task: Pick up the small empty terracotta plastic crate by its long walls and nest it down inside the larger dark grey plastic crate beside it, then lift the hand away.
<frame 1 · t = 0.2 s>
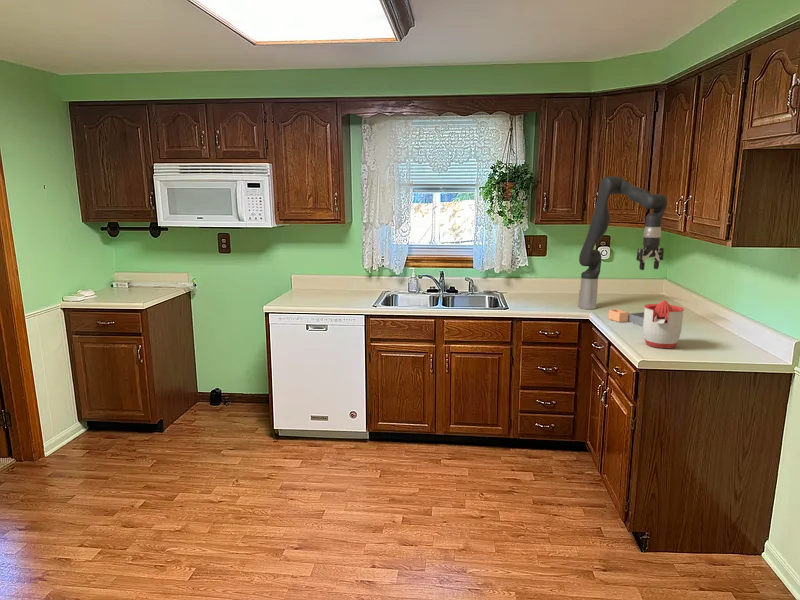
hand: (648, 269, 274), 28 cm above the worktop, tool pointing down, fingers open, 8 cm apart
citrus juicer: (659, 346, 243), on the worktop
small crate: (617, 320, 289), on the worktop
large crate: (646, 322, 284), on the worktop
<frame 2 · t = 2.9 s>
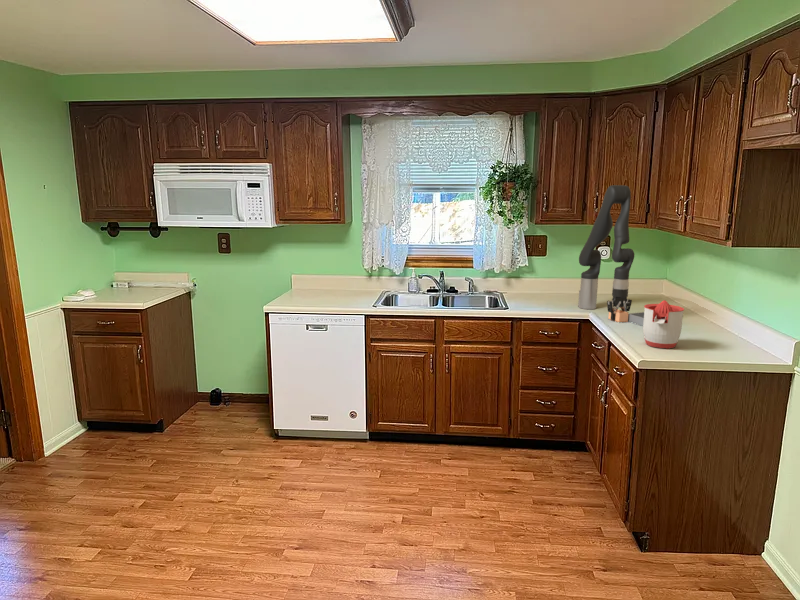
hand: (618, 319, 289), 1 cm above the worktop, tool pointing down, fingers closed on small crate, 5 cm apart
small crate: (617, 320, 289), on the worktop, touching gripper
everything else where it was.
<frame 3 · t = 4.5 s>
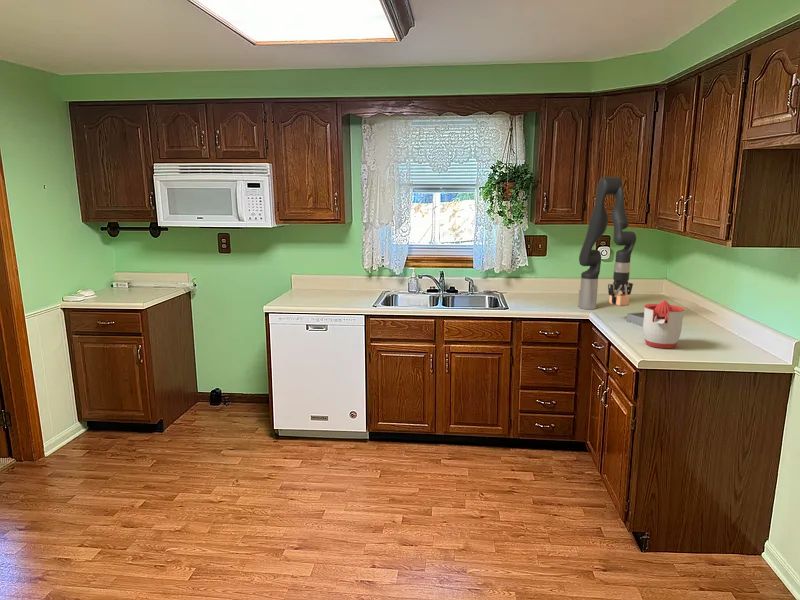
hand: (618, 303, 287), 9 cm above the worktop, tool pointing down, fingers closed on small crate, 5 cm apart
small crate: (618, 304, 287), point 9 cm above the worktop, touching gripper
everything else where it was.
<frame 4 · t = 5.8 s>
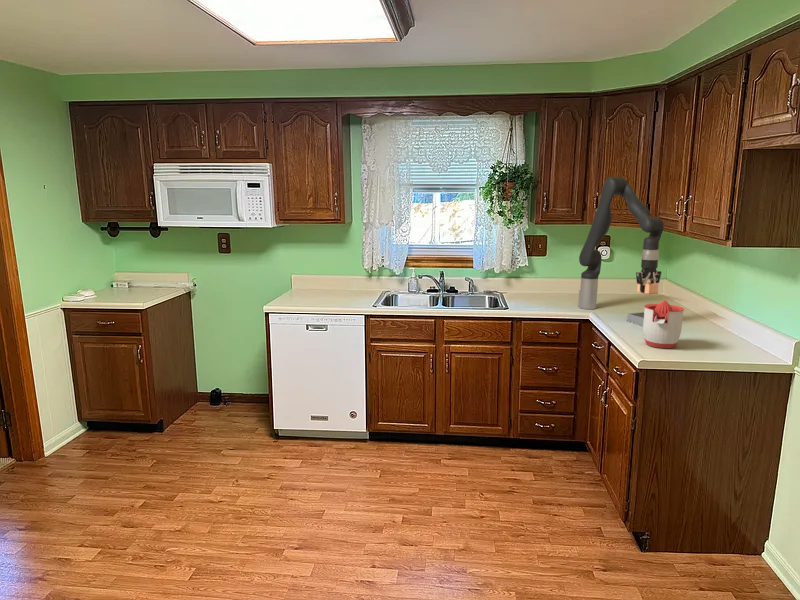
hand: (647, 291, 281), 16 cm above the worktop, tool pointing down, fingers closed on small crate, 5 cm apart
small crate: (647, 293, 281), point 15 cm above the worktop, touching gripper
everything else where it was.
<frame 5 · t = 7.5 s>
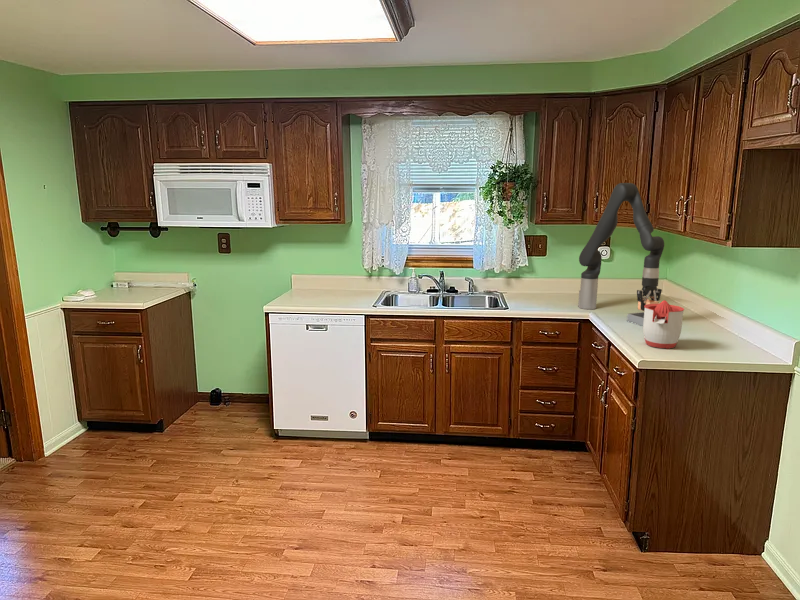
hand: (647, 309, 283), 7 cm above the worktop, tool pointing down, fingers closed on small crate, 5 cm apart
small crate: (647, 310, 283), point 6 cm above the worktop, touching gripper
everything else where it was.
when the fingers open (4 cm above the worktop, at t = 8.7 s): small crate drops 3 cm, resting on large crate.
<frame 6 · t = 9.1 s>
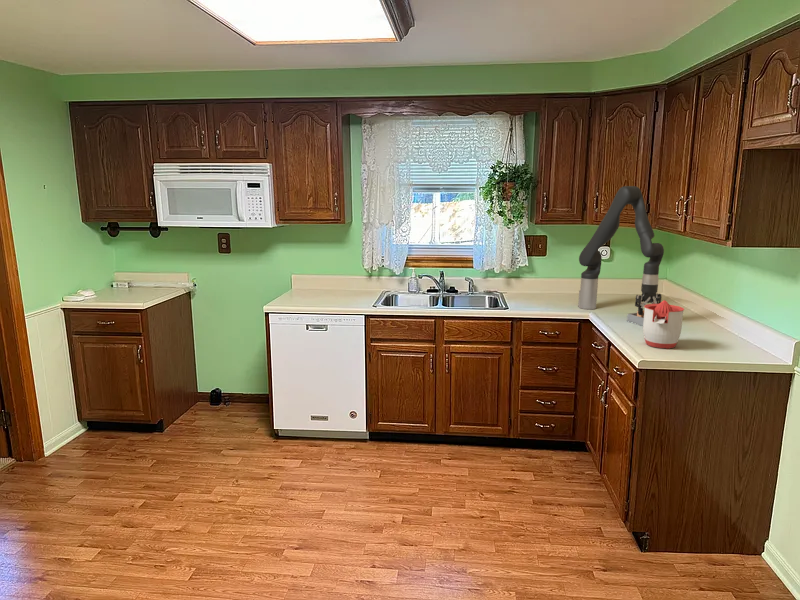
hand: (647, 314, 283), 4 cm above the worktop, tool pointing down, fingers open, 8 cm apart
small crate: (646, 321, 284), point 1 cm above the worktop, touching large crate
everything else where it was.
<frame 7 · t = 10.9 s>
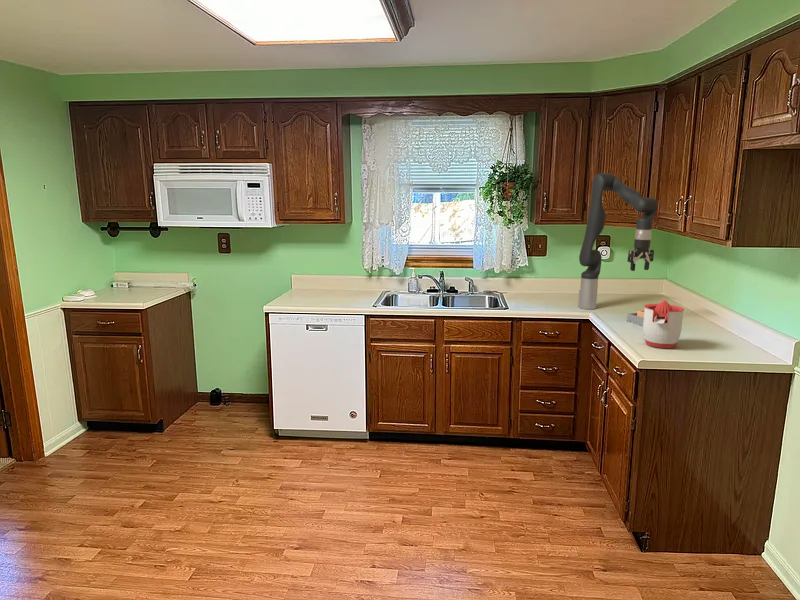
hand: (639, 270, 283), 26 cm above the worktop, tool pointing down, fingers open, 8 cm apart
nothing on the worktop moved.
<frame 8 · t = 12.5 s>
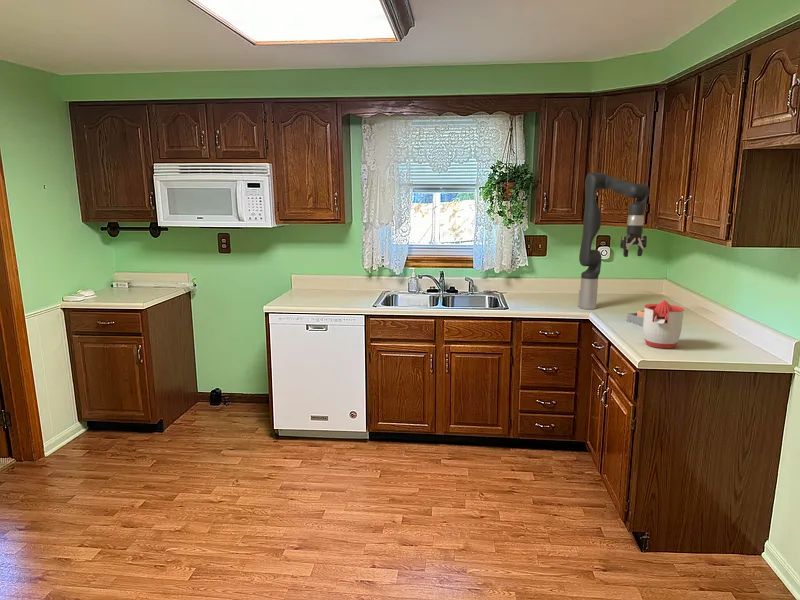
hand: (632, 256, 284), 33 cm above the worktop, tool pointing down, fingers open, 8 cm apart
nothing on the worktop moved.
at the end: small crate 0.1 cm off-centre on the large crate, point 0.6 cm above the large crate's base; small crate tilted 0°; the gripper is holding nothing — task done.
